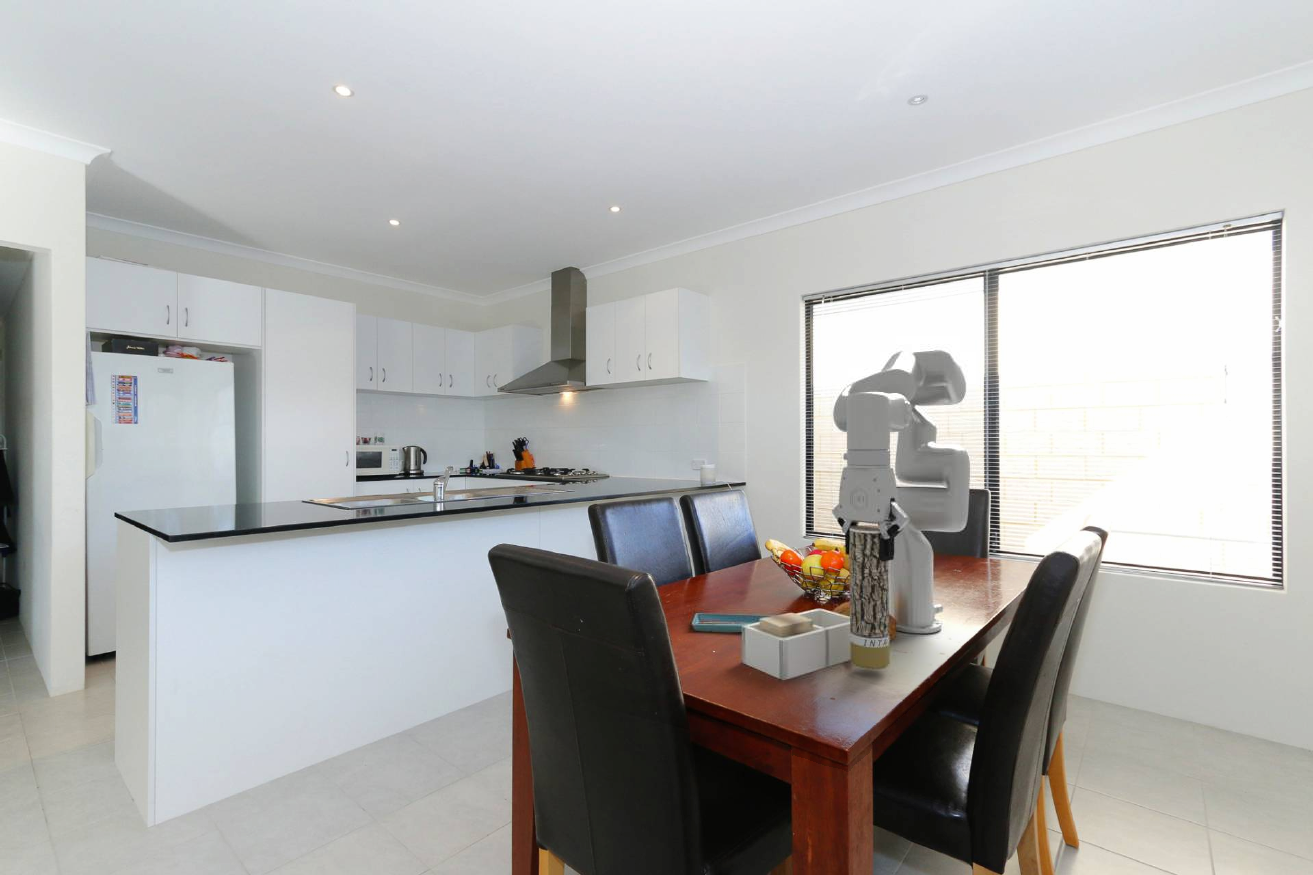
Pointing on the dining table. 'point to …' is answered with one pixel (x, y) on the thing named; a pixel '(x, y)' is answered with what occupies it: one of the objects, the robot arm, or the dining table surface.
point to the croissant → (845, 610)
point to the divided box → (798, 646)
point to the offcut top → (786, 625)
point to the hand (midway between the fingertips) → (869, 556)
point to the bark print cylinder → (868, 599)
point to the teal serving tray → (724, 619)
